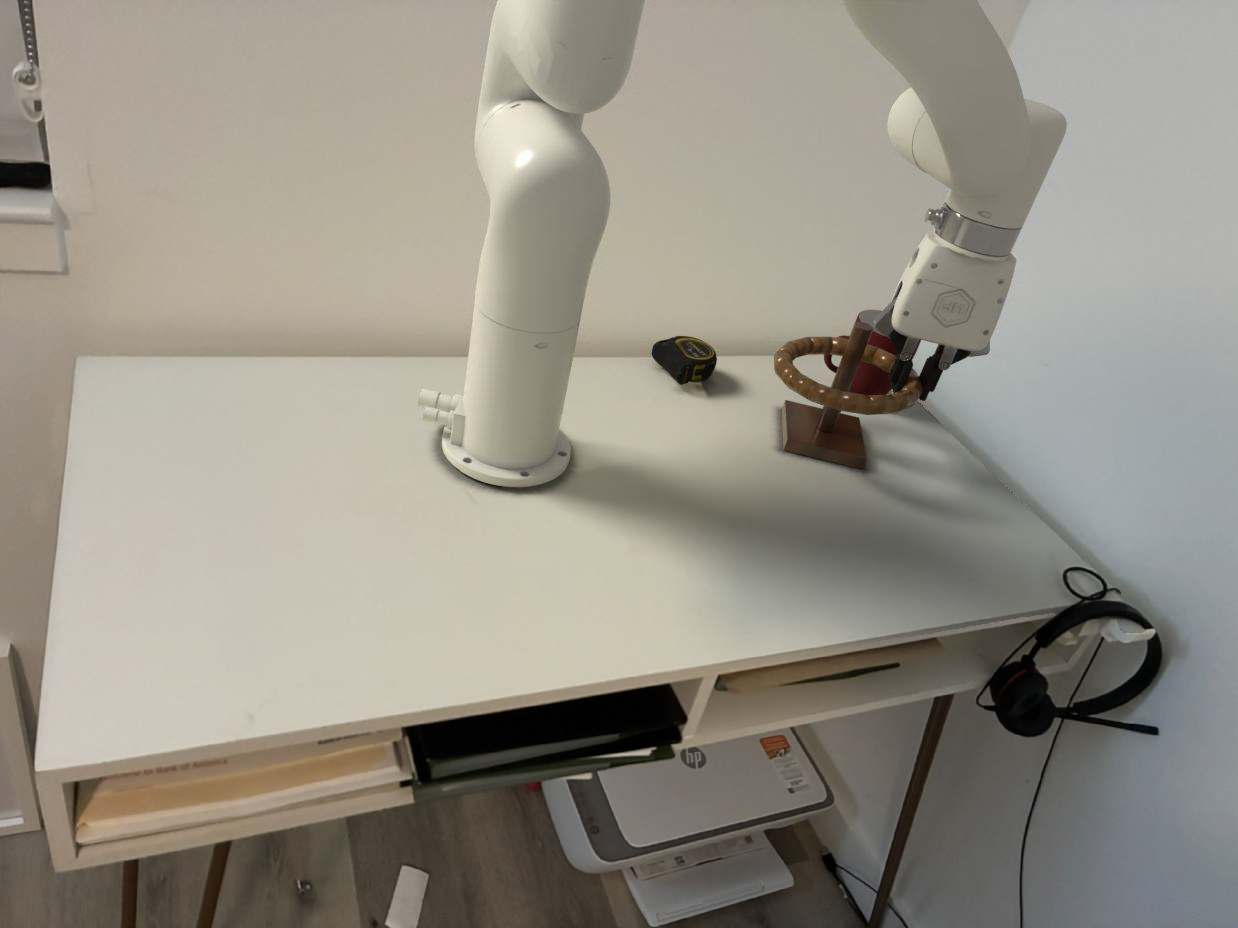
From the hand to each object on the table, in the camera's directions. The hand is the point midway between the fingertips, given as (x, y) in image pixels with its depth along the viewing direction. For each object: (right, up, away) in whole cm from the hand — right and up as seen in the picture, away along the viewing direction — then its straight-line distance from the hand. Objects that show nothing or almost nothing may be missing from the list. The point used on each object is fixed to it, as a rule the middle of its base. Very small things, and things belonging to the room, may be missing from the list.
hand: (907, 390), depth 100 cm
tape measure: (-24, +2, +10) cm, 26 cm away
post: (-9, -5, +5) cm, 11 cm away
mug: (-2, +1, +16) cm, 16 cm away
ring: (-7, +2, 0) cm, 7 cm away
